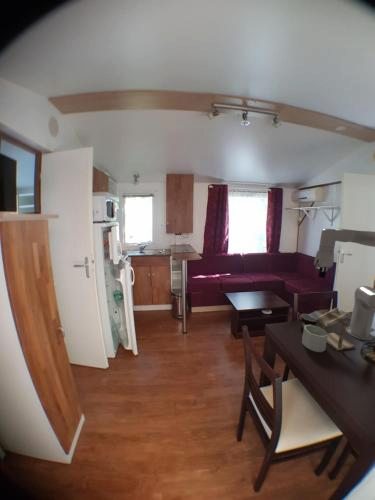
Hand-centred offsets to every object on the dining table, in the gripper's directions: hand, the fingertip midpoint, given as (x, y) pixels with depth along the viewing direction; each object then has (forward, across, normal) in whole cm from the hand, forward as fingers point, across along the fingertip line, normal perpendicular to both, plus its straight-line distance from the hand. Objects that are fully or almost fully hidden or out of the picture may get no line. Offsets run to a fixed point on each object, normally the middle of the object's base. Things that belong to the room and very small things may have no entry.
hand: (321, 277), depth 118 cm
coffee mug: (+35, +8, +2) cm, 36 cm away
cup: (+35, +16, +15) cm, 41 cm away
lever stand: (+35, 0, +15) cm, 38 cm away
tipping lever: (+23, +3, +13) cm, 26 cm away
